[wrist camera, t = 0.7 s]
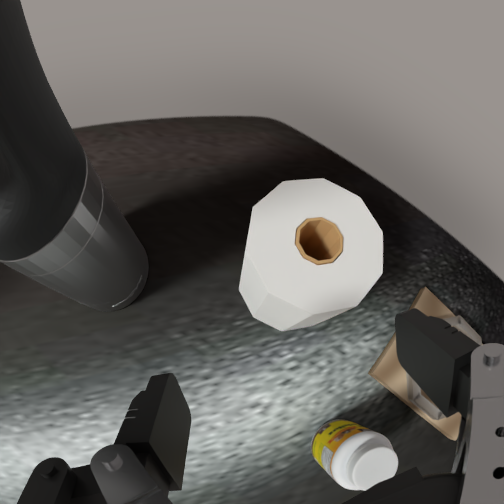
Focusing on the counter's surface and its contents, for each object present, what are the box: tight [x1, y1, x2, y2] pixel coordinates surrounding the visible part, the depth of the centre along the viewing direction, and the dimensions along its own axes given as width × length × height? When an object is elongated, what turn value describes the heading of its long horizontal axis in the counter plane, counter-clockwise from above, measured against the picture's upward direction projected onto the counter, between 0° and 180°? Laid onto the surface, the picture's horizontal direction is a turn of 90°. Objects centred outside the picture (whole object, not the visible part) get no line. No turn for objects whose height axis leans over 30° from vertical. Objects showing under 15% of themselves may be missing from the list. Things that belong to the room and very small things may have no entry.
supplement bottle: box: [311, 419, 398, 491], centre depth 23 cm, size 6×6×10 cm
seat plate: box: [368, 287, 483, 441], centre depth 30 cm, size 16×12×2 cm
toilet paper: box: [239, 178, 383, 331], centre depth 27 cm, size 10×10×12 cm
